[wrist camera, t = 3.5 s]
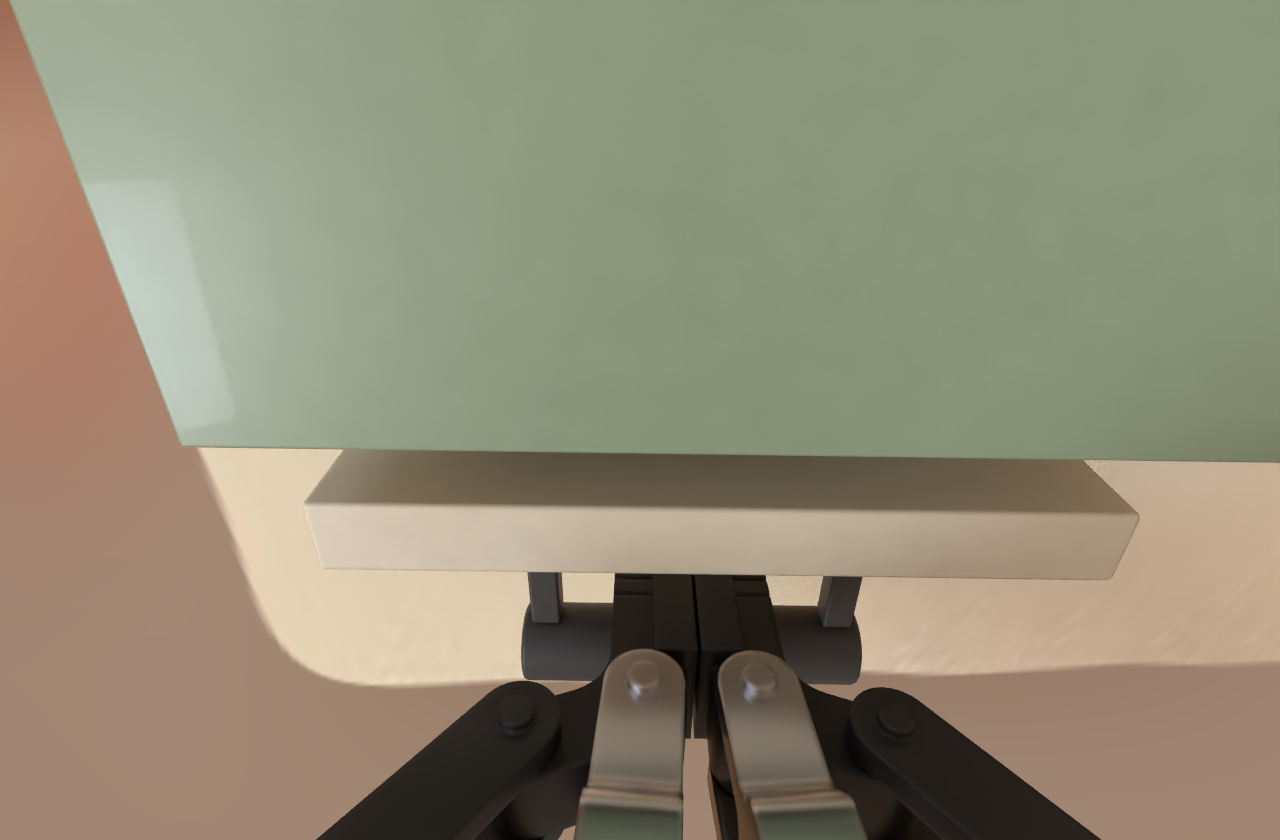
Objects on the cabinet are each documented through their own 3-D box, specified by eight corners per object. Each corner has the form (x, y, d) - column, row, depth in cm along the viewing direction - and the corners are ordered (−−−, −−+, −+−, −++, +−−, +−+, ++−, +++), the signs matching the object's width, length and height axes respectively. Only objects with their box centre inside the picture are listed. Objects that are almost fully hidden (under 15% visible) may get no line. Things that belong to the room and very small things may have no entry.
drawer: (878, 531, 19) (1006, 802, 12) (478, 526, 19) (385, 794, 12) (1121, -491, 10) (2232, -1734, 3) (338, -500, 10) (-373, -1756, 3)
